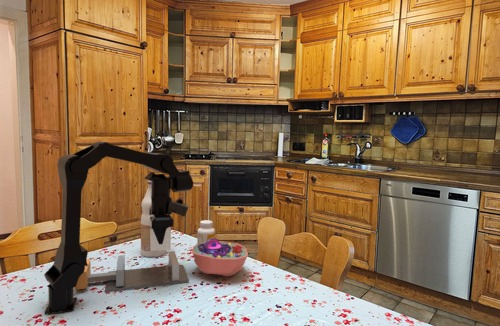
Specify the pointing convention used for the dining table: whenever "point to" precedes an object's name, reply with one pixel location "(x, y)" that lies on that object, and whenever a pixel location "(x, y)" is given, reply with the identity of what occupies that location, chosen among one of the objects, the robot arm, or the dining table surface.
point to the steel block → (166, 242)
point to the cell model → (219, 257)
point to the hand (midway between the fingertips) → (160, 242)
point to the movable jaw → (102, 275)
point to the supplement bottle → (205, 231)
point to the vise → (151, 276)
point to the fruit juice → (147, 226)
